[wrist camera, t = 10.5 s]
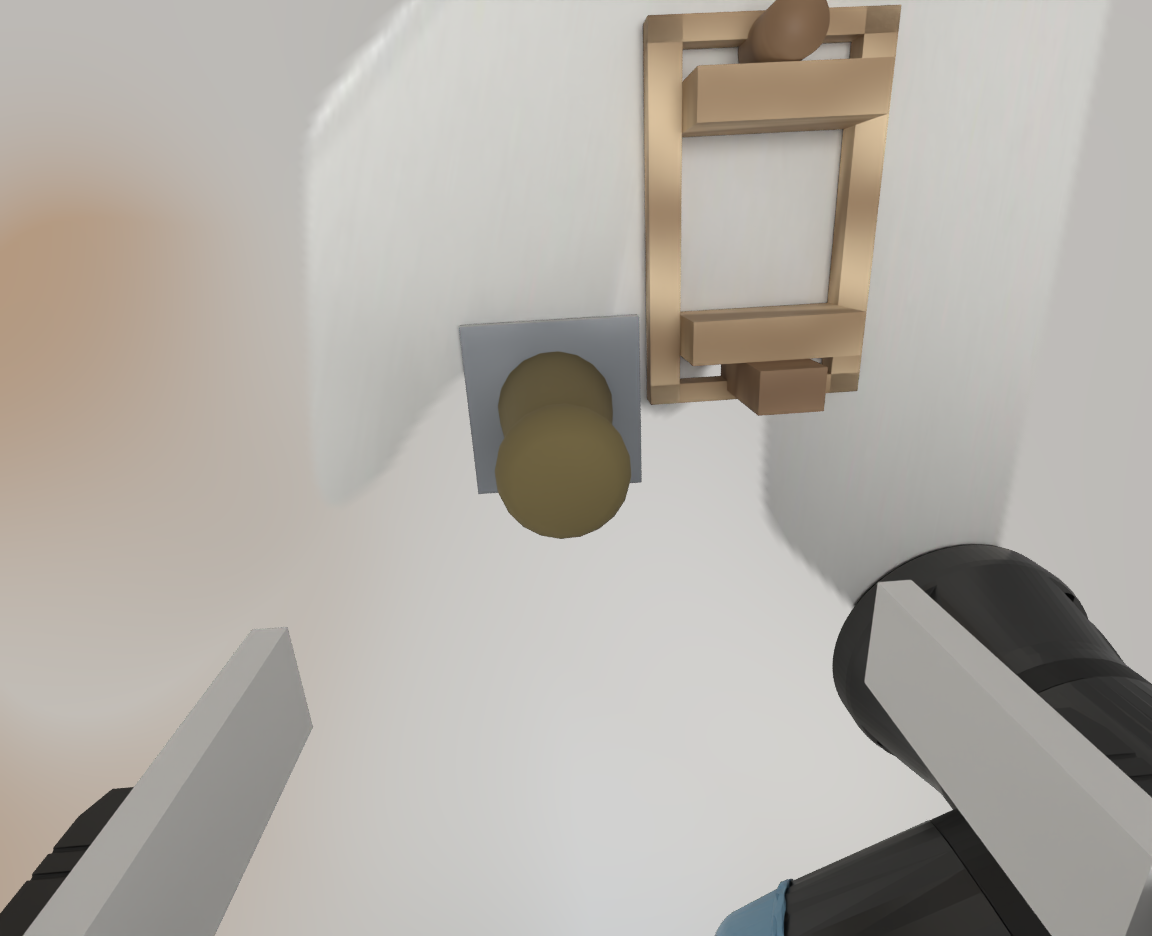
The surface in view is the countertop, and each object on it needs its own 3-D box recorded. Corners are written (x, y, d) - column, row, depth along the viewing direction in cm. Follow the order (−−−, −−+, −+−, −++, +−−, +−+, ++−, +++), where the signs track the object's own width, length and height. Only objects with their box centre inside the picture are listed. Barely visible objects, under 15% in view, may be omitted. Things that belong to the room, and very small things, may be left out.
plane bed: (846, 385, 34) (908, 415, 28) (647, 398, 33) (669, 432, 28) (886, 14, 28) (976, -43, 22) (643, 24, 27) (671, -31, 22)
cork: (573, 327, 31) (592, 372, 21) (634, 424, 33) (679, 509, 22) (474, 392, 32) (445, 466, 21) (539, 483, 34) (541, 590, 23)
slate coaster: (639, 476, 35) (641, 482, 34) (480, 488, 34) (478, 494, 34) (636, 314, 32) (638, 316, 31) (460, 325, 31) (458, 327, 30)
